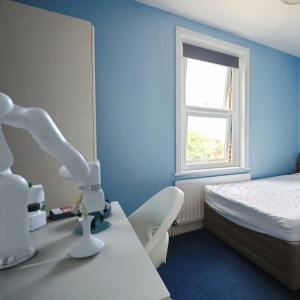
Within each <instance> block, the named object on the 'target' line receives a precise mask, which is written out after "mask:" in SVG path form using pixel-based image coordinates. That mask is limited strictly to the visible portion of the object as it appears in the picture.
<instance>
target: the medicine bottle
mask: <svg viewBox="0 0 300 300" xmlns="http://www.w3.org/2000/svg"><path fill="white" fill-rule="evenodd" d="M27 209H28V224H29V232H34V231H36V230H38V229H39V228H41V227H43V226H45V225H47V212H46V211H41V208H40V203H29V204H27Z"/></svg>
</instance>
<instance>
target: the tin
mask: <svg viewBox="0 0 300 300" xmlns="http://www.w3.org/2000/svg"><path fill="white" fill-rule="evenodd" d="M104 201H105V202H107V203H108V204H110V205H111V207H110V208H109V209H108V210H107V211H106V213H105V214H104V220H105V219H109V218H110V217H111V216H112V200H111V199H109V198H104ZM106 207H107V206H106V205H105V207H104V209H105V208H106ZM104 209H103V210H104ZM100 214H101V213H100V211H96V212H90V213H89V214H88V215H87V216H94V215H95V216H96V221H100ZM84 216H85V215H84Z"/></svg>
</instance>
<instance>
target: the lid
mask: <svg viewBox="0 0 300 300" xmlns="http://www.w3.org/2000/svg"><path fill="white" fill-rule="evenodd" d="M110 227H111V222H110V221H108V220H104V221H102V223H101V222H100V220H97V221H96V216H95V215H94V218H93V219H92V221H91V224H90V234H91V235H93V234H98V233H100V232H103V231H105V230H108V229H109V228H110ZM74 233H75V234H76V235H79V236H83V227H82V224H81V225H79V226H77V227H76V228H75V229H74Z"/></svg>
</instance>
